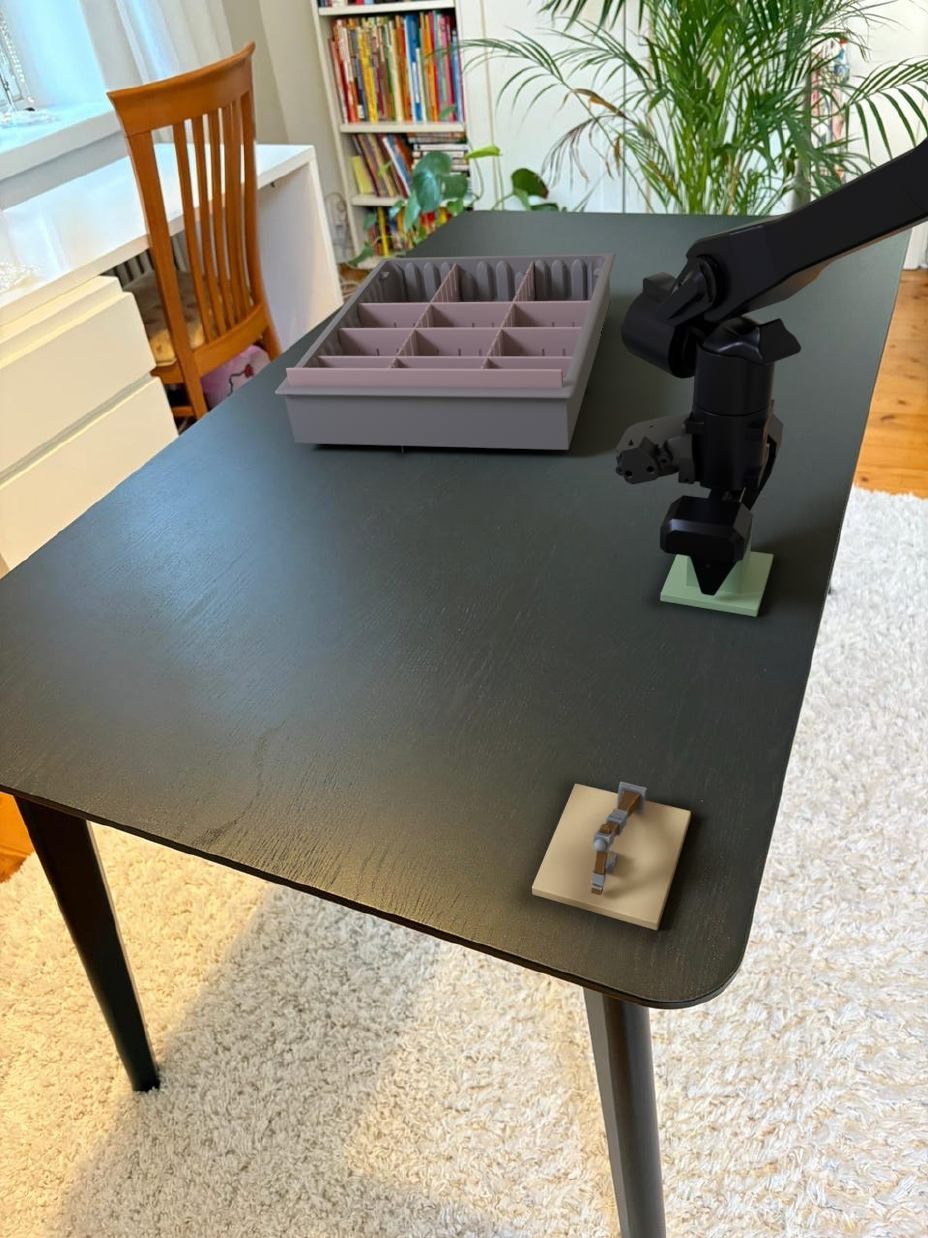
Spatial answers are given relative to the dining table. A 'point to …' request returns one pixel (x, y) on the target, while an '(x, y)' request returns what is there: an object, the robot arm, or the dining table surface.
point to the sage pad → (722, 600)
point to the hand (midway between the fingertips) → (718, 565)
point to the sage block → (734, 577)
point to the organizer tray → (456, 354)
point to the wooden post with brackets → (614, 832)
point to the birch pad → (640, 862)
